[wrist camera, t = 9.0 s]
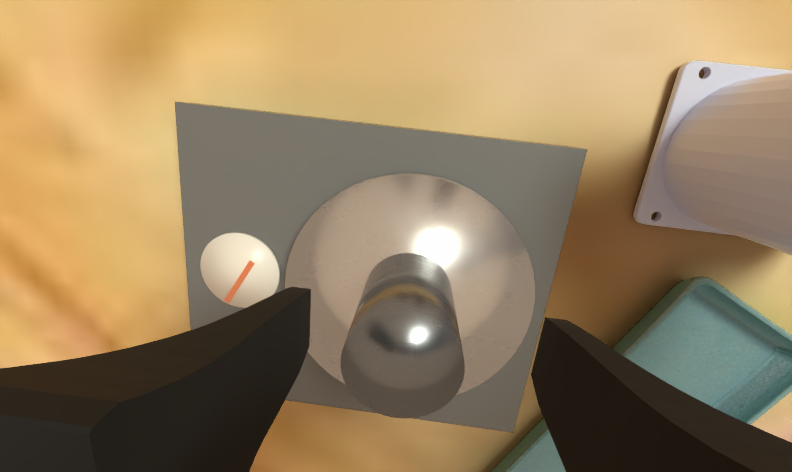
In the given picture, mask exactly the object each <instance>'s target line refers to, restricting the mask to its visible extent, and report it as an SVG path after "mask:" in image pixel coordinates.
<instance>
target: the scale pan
mask: <svg viewBox="0 0 792 472" xmlns="http://www.w3.org/2000/svg"><path fill="white" fill-rule="evenodd" d="M401 253H414V254H419V255H423V256H425V257H428V258H429V259H431V260H433V261H434V262H436V263H437V264H438V265H439V266H440V267H441V268H442V269H443V270H444V271H445V273H446V274H447V276H448V278H449V281H450V284H451V288H452V294H453V300H454V305H455V311H456V317H457V322H458V328H459V334H460V339H461V345H462V350H463V356H464V363H465V373H464V379H463V382H462V385H461V387H460V389H459V391H458V392H457V394H456V395H458V394H461V393H463V392H466V391H468V390H470V389H472V388H474V387H476V386H478V385H480V384H481V383H483V382H484V381H486V380H487V379H489V378H490V377H492V376H493V375H494V374H495V373H496V372H498V371H499V370H500V369H501V368H502V367H503V366H504V365H505V364H506V363H507V362H508V361H509V360H510V358H511V357H512V356H513V355H514V353H515V352H516V350H517V349H518V347H519V346H520V344H521V343H522V341H523V339H524V337H525V335H526V333H527V331H528V327H529V324H530V321H531V318H532V314H533V309H534V303H535V281H534V273H533V268H532V265H531V261H530V258H529V255H528V252H527V250H526V248H525V246H524V243H523V241H522V240H521V238H520V236H519V235H518V233H517V232H516V230H515V228H514V227H513V226H512V225H511V223H510V222H509V221H508V220H507V219H506V218H505V216H504V215H503V214H502V213H501V212H500V211H499V210H498V209H497V208H496V207H495V206H494V205H493V204H492V203H490V202H489V201H488V200H487V199H486V198H484V197H483V196H481V195H480V194H478V193H477V192H475V191H474V190H472V189H470V188H468V187H466V186H464V185H462V184H460V183H458V182H455V181H452V180H449V179H446V178H443V177H439V176H434V175H429V174H423V173H394V174H386V175H382V176H377V177H372V178H369V179H367V180H364V181H361V182H358V183H356V184H354V185H352V186H350V187H348V188H346V189H344V190H342V191H341V192H339V193H338V194H337V195H335V196H334V197H332V198H331V199H329V200H328V201H327V202H326V203H324V204H323V205H322V206H321V207H320V208H319V209H318V210H317V211H316V212H315V213H314V214H313V215H312V216H311V217H310V219H309V220H308V221H307V223H306V224H305V225H304V226H303V228H302V230H301V231H300V233H299V235H298V236H297V238H296V240H295V242H294V245H293V247H292V250H291V252H290V255H289V259H288V263H287V267H286V275H285V289H287V288H289V287H299V288H308V289H311V310H310V346H309V348H308V351H307V352H308V353H309V354H310V355H311V356H312V358H313V359H314V360H315V361H316V362H317V363H318V364H319V365H320V366H321V367H322V368H323V369H324V370H325V371H327V372H328V373H329V374H330V375H332V376H333V377H335V378H336V379H337V380H339V381H340V382H342V383H344V384H345V382H344V379H343V376H342V372H341V365H340V362H341V354H342V349H343V347H344V344H345V341H346V338H347V335H348V332H349V329H350V327H351V324H352V321H353V318H354V315H355V312H356V310H357V307H358V304H359V301H360V298H361V295H362V293H363V290H364V287H365V284H366V281H367V279H368V276H369V274H370V273H371V271H372V270H373V268H374V267H375V266H376V265H377V264H378V263H379V262H381V261H382V260H384V259H386V258H387V257H390V256H392V255H396V254H401Z"/></svg>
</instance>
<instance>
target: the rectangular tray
mask: <svg viewBox="0 0 792 472" xmlns="http://www.w3.org/2000/svg"><path fill="white" fill-rule="evenodd" d="M612 349H613V350H615V351H616V352H618V353H620V354H621V355H623V356H624V357H626V358H627V359H629V360H630V361H632V362H634V363H635V364H637V365H638V366H640V367H642V368H643V369H645V370H646V371H648V372H650V373H651V374H653V375H655V376H657V377H658V378H660V379H662V380H663V381H665V382H667V383H668V384H670V385H672V386H674V387H675V388H677V389H679V390H681V391H683V392H685V393H687V394H688V395H690V396H692V397H694V398H696V399H698V400H700V401H702V402H704V403H706V404H708V405H710V406H711V407H713V408H715V409H718V410H720V411H722V412H724V413H726V414H728V415H730V416H732V417H734V418H736V419H739V420H741V421H743V422H745V423H747V424H752V423H753V422H754V421H755V420H757V419H758V418H759V417H760V416H762V415H763V414H764V413H765V412H766V411H768V410H769V409H770V408H771V407H773V406H774V405H775V404H776V403H777V402H779V401H780V400H781V399H782V398H784V397H785V396H786V395H787V394H789V393H790V392H791V391H792V335H791V334H789V333H788V332H786V331H785V330H784V329H782V328H780V327H779V326H777V325H776V324H774V323H773V322H771V321H770V320H769V319H767V318H766V317H764V316H763V315H762V314H760V313H759V312H757V311H756V310H755V309H753V308H752V307H750V306H749V305H747V304H746V303H745V302H743V301H742V300H740V299H739V298H738V297H736V296H735V295H733V294H732V293H731V292H729V291H728V290H726V289H725V288H724V287H722V286H721V285H719V284H718V283H717V282H715V281H714V280H712V279H710V278H707V277H695V278H691V279H687V280H684V281H681V282H679V283H678V284H676V285H675V286H674V287H673V288H672V289H671V290H670V291H669V292H668V293H667V294H666V295H665V296H664V297H663V298H662V299H661V300H660V301H659V302H658V303H657V304H656V305H655V306H654V307H653V308H652V309H651V310H650V311H649V312H648V313H647V314H646V315H645V316H644V317H643V318H642V319H641V320H640V321H639V322H638V323H637V324H636V325H635V326H634V327H633V328H632V329H631V330H630V331H629V332H628V333H627V334H626V335H625V336H624V337H623V338H622V339H621V340H620V341H619V342H618V343H617V344H616V345H615V346H614V347H613V348H612ZM491 472H566V471H565V468H564V466H563V463H562V461H561V458H560V456H559V454H558V451H557V449H556V446H555V444H554V441H553V439H552V437H551V434H550V432H549V429H548V427H547V424H546V422H545V419H544V418H543V419H542V420H541V421H540V422H539V423H538V424H537V425H536V426H535V427H534V428H533V429H532V430H531V431H530V432H529V433H528V434H527V435H526V436H525V437H524V438H523V439H522V440H521V441H520V442H519V443H518V444H517V445H516V446H515V447H514V448H513V449H512V450H511V451H510V452H509V453H508V454H507V455H506V456H505V457H504V458H503V459H502V460H501V461H500V462H499V463H498V464H497V465H496V467H495V468H494V469H493V470H492V471H491Z"/></svg>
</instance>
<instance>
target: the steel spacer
mask: <svg viewBox="0 0 792 472" xmlns="http://www.w3.org/2000/svg"><path fill="white" fill-rule="evenodd" d="M340 365H341V372H342V376H343V379H344V382H345V384H346V386H347V387H348V389H349V391H350V392H351V393H352V395H353V396H354V397H355V398H356V399H357V400H358V401H359V402H361V403H362V404H363V405H364V406H366V407H368V408H369V409H371V410H373V411H375V412H377V413H380V414H382V415H386V416H390V417H395V418H416V417H421V416H425V415H428V414H431V413H433V412H435V411H437V410H439V409H441V408H442V407H444V406H445V405H446V404H448V403H449V402H450V401H451V400H452V399H453V398H454V397H455V395H456V394H457V392H458V391H459V389H460V387H461V385H462V382H463V379H464V373H465V363H464V356H463V350H462V345H461V339H460V334H459V328H458V322H457V317H456V311H455V305H454V300H453V294H452V288H451V284H450V281H449V278H448V276H447V274H446V273H445V271H444V270H443V269H442V268H441V267H440V266H439V265H438V264H437V263H436V262H434V261H433V260H431V259H429V258H428V257H425V256H423V255H419V254H414V253H401V254H396V255H392V256H390V257H387V258H386V259H384V260H382V261H381V262H379V263H378V264H377V265H376V266H375V267H374V268H373V270H372V271H371V273H370V274H369V276H368V279H367V281H366V284H365V287H364V290H363V293H362V295H361V298H360V301H359V304H358V307H357V310H356V312H355V315H354V318H353V321H352V324H351V327H350V329H349V332H348V335H347V338H346V341H345V344H344V347H343V349H342V354H341V362H340Z"/></svg>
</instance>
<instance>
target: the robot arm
mask: <svg viewBox="0 0 792 472" xmlns="http://www.w3.org/2000/svg"><path fill="white" fill-rule="evenodd" d="M701 69H704V71H705V74H704V76H703V78H700V77H699V71H700V70H701ZM654 212H657V216H656V218H654V219H651V216H652V214H653V213H654ZM633 217H634V220H635V221H636V222H638V223H641V224H645V225H653V226H662V227H670V228H678V229H686V230H694V231H703V232H711V233H719V234H727V235H735V236H739V237H742V238H745V239H748V240H751V241H753V242H756V243H759V244H762V245H765V246H767V247H770V248H773V249H776V250H778V251H781V252H784V253H787V254H790V255H792V70H783V69H774V68H764V67H755V66H746V65H736V64H727V63H717V62H708V61H699V60H696V61H690V62H687V63H685V64H683V65H682V66H681V67H680V69H679V71H678V74H677V77H676V80H675V83H674V86H673V90H672V93H671V96H670V99H669V102H668V105H667V109H666V112H665V115H664V118H663V121H662V124H661V127H660V131H659V134H658V137H657V140H656V143H655V146H654V150H653V153H652V156H651V159H650V162H649V165H648V169H647V172H646V175H645V178H644V181H643V184H642V187H641V191H640V194H639V197H638V200H637V203H636V206H635V210H634V213H633ZM310 310H311V289H308V288H299V287H289V288H287V289H284V290H282V291H280V292H278V293H276V294H274V295H272V296H269V297H267V298H265V299H263V300H261V301H259V302H257V303H255V304H253V305H251V306H249V307H247V308H245V309H242V310H240V311H238V312H236V313H233V314H231V315H229V316H226V317H224V318H222V319H219V320H217V321H215V322H212V323H210V324H207V325H204V326H202V327H199V328H196V329H193V330H190V331H187V332H184V333H181V334H178V335H175V336H172V337H169V338H165V339H161V340H157V341H153V342H150V343H146V344H142V345H138V346H135V347H131V348H127V349H122V350H117V351H113V352H108V353H103V354H98V355H92V356H87V357H81V358H76V359H70V360H63V361H56V362H49V363H41V364H33V365H26V366H18V367H11V368H1V369H0V472H249V470H250V468H251V466H252V463H253V461H254V458H255V456H256V454H257V452H258V450H259V448H260V446H261V444H262V441H263V439H264V437H265V436H266V434H267V432H268V430H269V428H270V426H271V425H272V423H273V421H274V419H275V417H276V415H277V414H278V412H279V410H280V408H281V406H282V404H283V403H284V401H285V399H286V397H287V395H288V393H289V392H290V390H291V388H292V386H293V384H294V382H295V380H296V378H297V376H298V375H299V372H300V370H301V367H302V365H303V362H304V359H305V357H306V354H307V351H308V348H309V346H310ZM531 376H532V380H533V384H534V388H535V392H536V396H537V400H538V404H539V407H540V409H541V412H542V414H543V417H544V419H545V422H546V424H547V427H548V429H549V432H550V434H551V437H552V439H553V441H554V444H555V446H556V449H557V451H558V454H559V456H560V458H561V461H562V463H563V466H564V468H565V471H566V472H792V443H791V442H789V441H786V440H784V439H781V438H779V437H777V436H774V435H772V434H770V433H767V432H765V431H763V430H761V429H759V428H756V427H754V426H752V425H750V424H747V423H745V422H743V421H741V420H739V419H736V418H734V417H732V416H730V415H728V414H726V413H724V412H722V411H720V410H718V409H715V408H713V407H711V406H710V405H708V404H706V403H704V402H702V401H700V400H698V399H696V398H694V397H692V396H690V395H688V394H687V393H685V392H683V391H681V390H679V389H677V388H675V387H674V386H672V385H670V384H668V383H667V382H665V381H663V380H662V379H660V378H658V377H657V376H655V375H653V374H651V373H650V372H648V371H646V370H645V369H643V368H642V367H640V366H638V365H637V364H635V363H634V362H632V361H630V360H629V359H627V358H626V357H624V356H623V355H621V354H620V353H618V352H616V351H615V350H613V349H612V348H610V347H609V346H607V345H606V344H604V343H603V342H601V341H600V340H598V339H597V338H595V337H594V336H592V335H591V334H589V333H588V332H586V331H584V330H583V329H581V328H580V327H578V326H576V325H575V324H573V323H571V322H569V321H567V320H561V319H553V318H545V321H544V325H543V329H542V333H541V337H540V341H539V345H538V349H537V353H536V357H535V361H534V365H533V369H532V373H531Z"/></svg>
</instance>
